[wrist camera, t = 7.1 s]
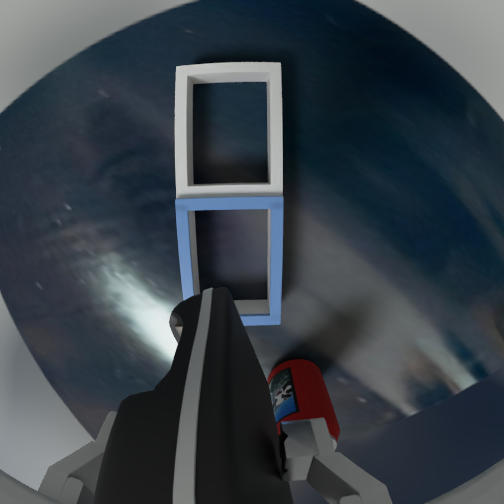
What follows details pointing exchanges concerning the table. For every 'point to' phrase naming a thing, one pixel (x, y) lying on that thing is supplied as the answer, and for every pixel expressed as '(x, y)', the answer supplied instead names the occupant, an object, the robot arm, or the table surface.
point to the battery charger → (198, 421)
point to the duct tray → (230, 193)
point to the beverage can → (301, 395)
